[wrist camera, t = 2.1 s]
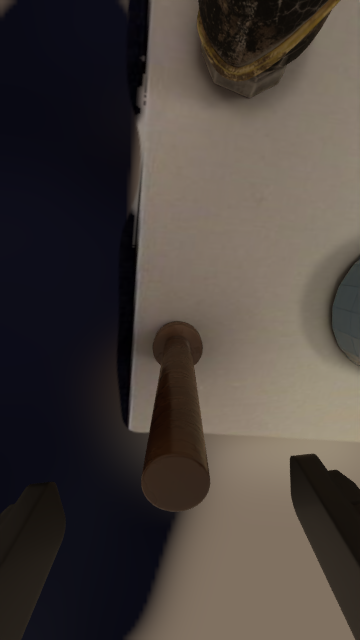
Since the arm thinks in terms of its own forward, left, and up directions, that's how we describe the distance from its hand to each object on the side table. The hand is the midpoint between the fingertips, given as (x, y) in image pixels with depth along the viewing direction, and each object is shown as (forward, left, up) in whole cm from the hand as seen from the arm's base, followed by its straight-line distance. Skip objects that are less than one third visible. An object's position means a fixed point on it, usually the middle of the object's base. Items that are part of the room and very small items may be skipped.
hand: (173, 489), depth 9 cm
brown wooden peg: (0, 0, -15) cm, 15 cm away
